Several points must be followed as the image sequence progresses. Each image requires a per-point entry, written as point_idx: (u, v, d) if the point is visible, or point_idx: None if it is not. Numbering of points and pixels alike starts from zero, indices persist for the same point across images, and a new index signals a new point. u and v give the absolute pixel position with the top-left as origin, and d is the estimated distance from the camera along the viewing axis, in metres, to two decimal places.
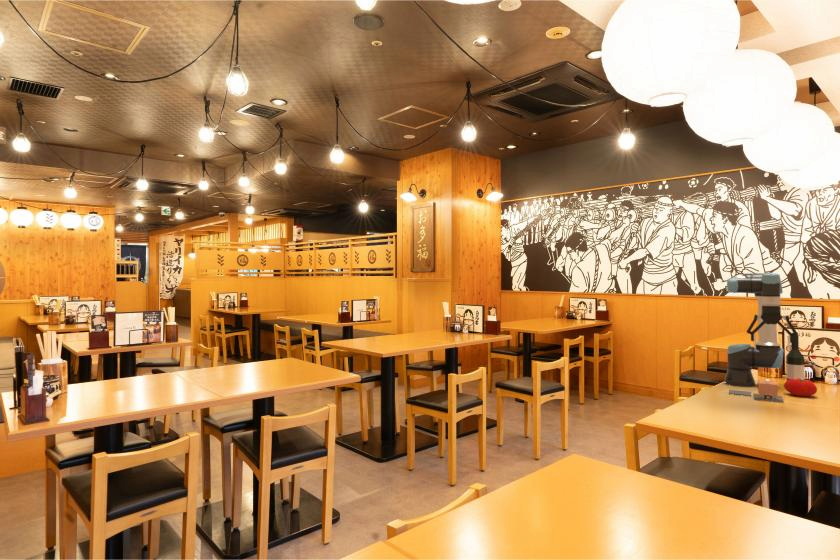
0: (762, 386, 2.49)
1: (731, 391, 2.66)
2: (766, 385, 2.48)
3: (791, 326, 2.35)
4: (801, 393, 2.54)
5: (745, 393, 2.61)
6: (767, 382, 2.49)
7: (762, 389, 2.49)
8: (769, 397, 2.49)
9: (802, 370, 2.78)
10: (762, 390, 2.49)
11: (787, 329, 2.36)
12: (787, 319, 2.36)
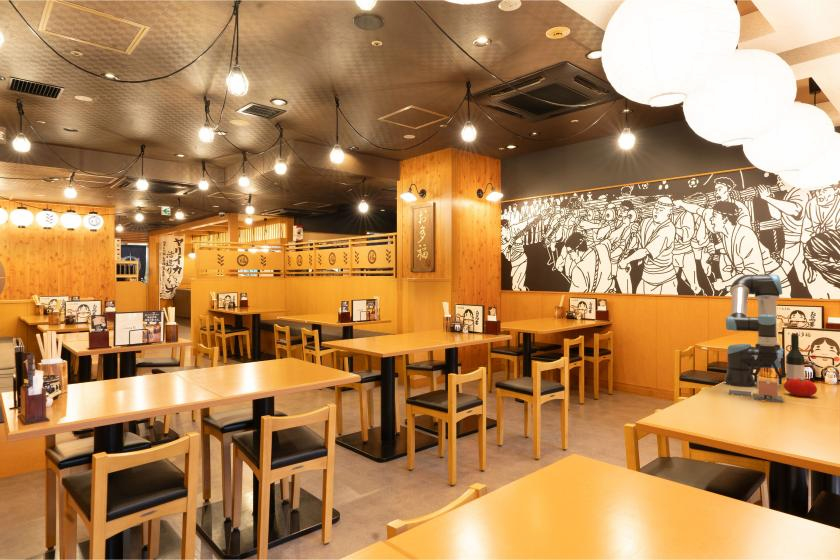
0: (762, 386, 2.49)
1: (731, 391, 2.66)
2: (766, 385, 2.48)
3: (783, 368, 2.47)
4: (801, 393, 2.54)
5: (745, 393, 2.61)
6: (767, 382, 2.49)
7: (762, 389, 2.49)
8: (769, 397, 2.49)
9: (802, 370, 2.78)
10: (762, 390, 2.49)
11: (778, 371, 2.48)
12: (781, 361, 2.47)
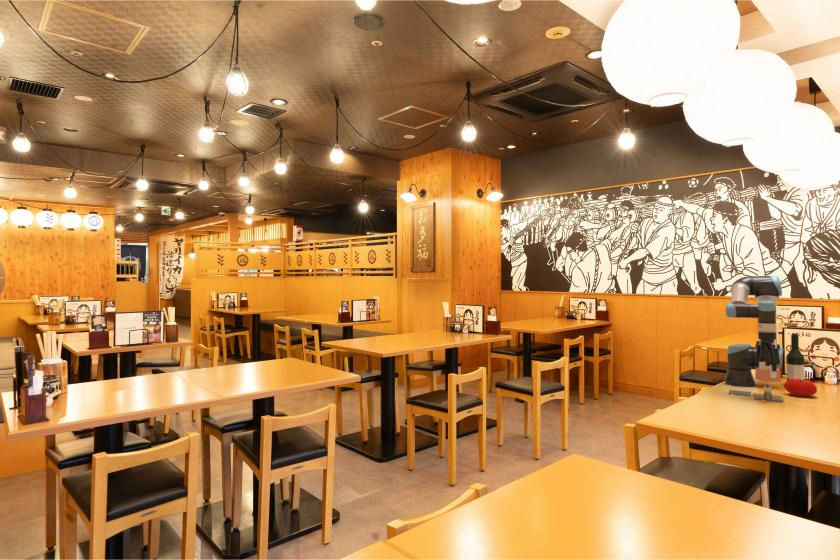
0: (757, 371, 2.54)
1: (731, 391, 2.66)
2: (759, 370, 2.53)
3: (773, 355, 2.45)
4: (801, 393, 2.54)
5: (745, 393, 2.61)
6: (761, 367, 2.52)
7: (757, 374, 2.54)
8: (769, 397, 2.49)
9: (802, 370, 2.78)
10: (757, 375, 2.54)
11: (770, 357, 2.47)
12: (772, 348, 2.46)
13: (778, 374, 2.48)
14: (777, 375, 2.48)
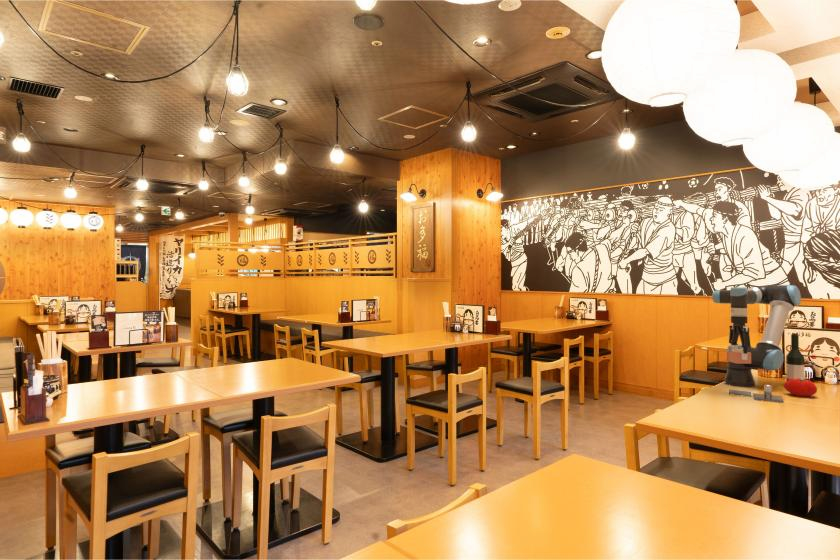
0: (729, 353, 2.66)
1: (731, 391, 2.66)
2: (731, 353, 2.65)
3: (744, 338, 2.58)
4: (801, 393, 2.54)
5: (745, 393, 2.61)
6: (733, 350, 2.64)
7: (729, 356, 2.66)
8: (769, 397, 2.49)
9: (802, 370, 2.78)
10: (729, 357, 2.66)
11: (742, 340, 2.59)
12: (743, 331, 2.58)
13: (749, 356, 2.60)
14: (748, 357, 2.60)
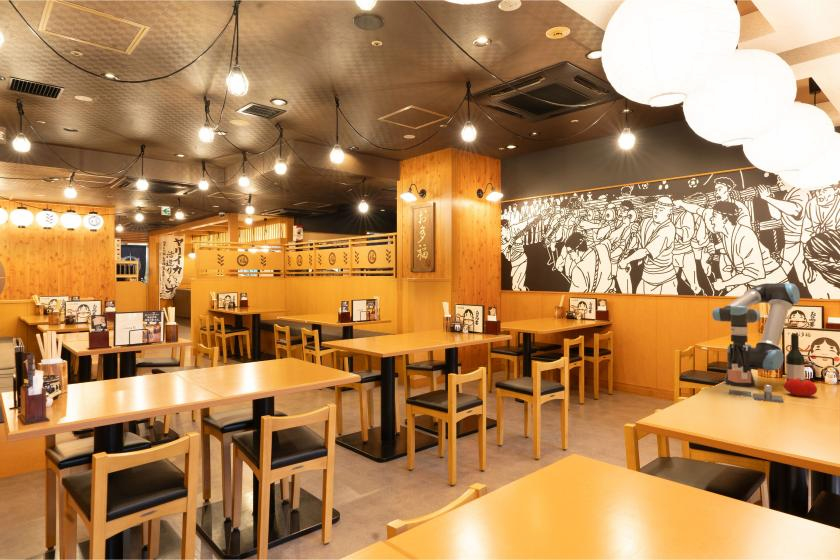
0: (729, 372, 2.66)
1: (731, 391, 2.66)
2: (731, 371, 2.65)
3: (744, 357, 2.57)
4: (801, 393, 2.54)
5: (745, 393, 2.61)
6: (733, 369, 2.64)
7: (729, 375, 2.66)
8: (769, 397, 2.49)
9: (802, 370, 2.78)
10: (729, 376, 2.66)
11: (742, 359, 2.59)
12: (743, 350, 2.58)
13: (749, 375, 2.60)
14: (748, 376, 2.60)
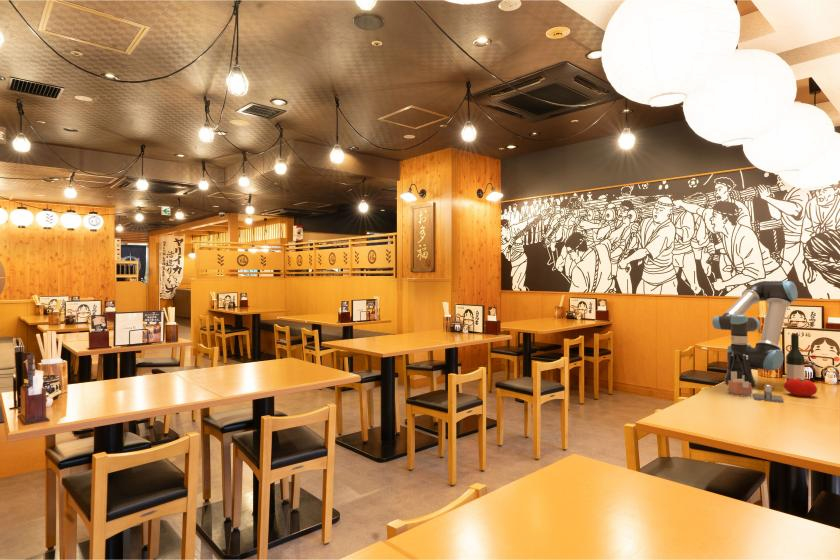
0: (729, 383, 2.66)
1: None
2: (731, 382, 2.65)
3: (745, 365, 2.57)
4: (801, 393, 2.54)
5: None
6: (733, 380, 2.64)
7: (729, 386, 2.66)
8: (769, 397, 2.49)
9: (802, 370, 2.78)
10: (729, 387, 2.66)
11: (743, 368, 2.59)
12: (744, 358, 2.58)
13: (749, 386, 2.60)
14: None
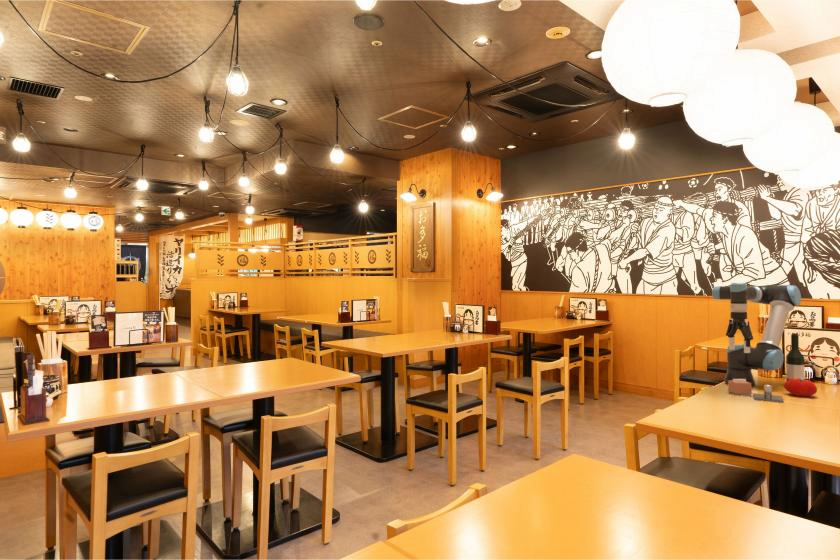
0: (729, 383, 2.66)
1: None
2: (731, 382, 2.65)
3: (745, 331, 2.56)
4: (801, 393, 2.54)
5: None
6: (733, 380, 2.64)
7: (729, 386, 2.66)
8: (769, 397, 2.49)
9: (802, 370, 2.78)
10: (729, 387, 2.66)
11: (743, 334, 2.58)
12: (743, 324, 2.58)
13: (749, 386, 2.60)
14: (748, 387, 2.60)
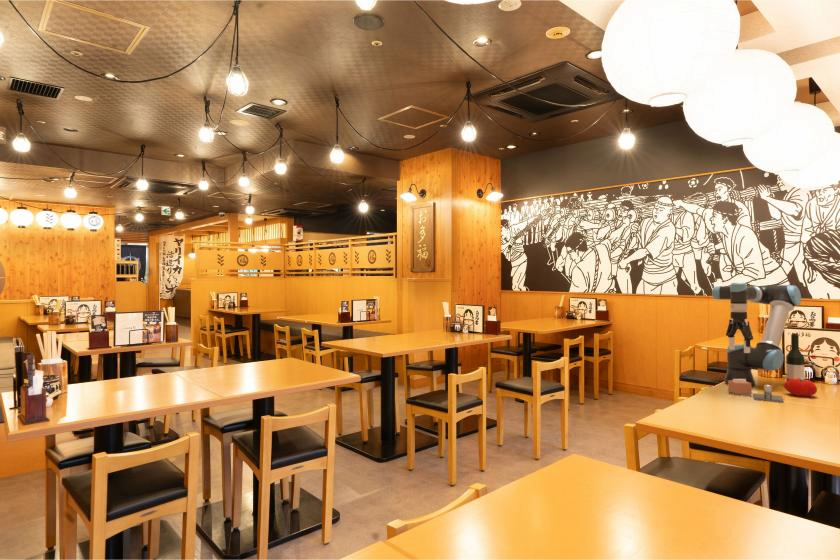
0: (729, 383, 2.66)
1: None
2: (731, 382, 2.65)
3: (745, 331, 2.56)
4: (801, 393, 2.54)
5: None
6: (733, 380, 2.64)
7: (729, 386, 2.66)
8: (769, 397, 2.49)
9: (802, 370, 2.78)
10: (729, 387, 2.66)
11: (743, 334, 2.58)
12: (743, 324, 2.58)
13: (749, 386, 2.60)
14: (748, 387, 2.60)
